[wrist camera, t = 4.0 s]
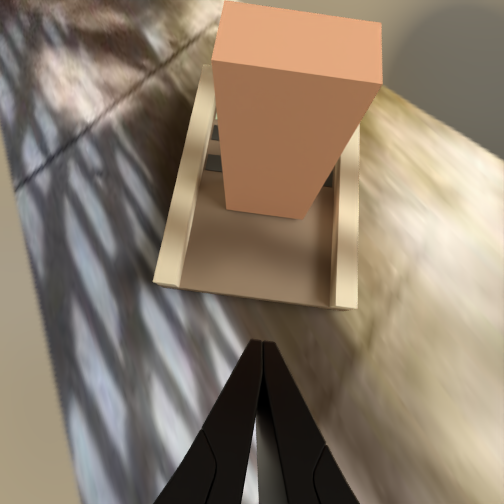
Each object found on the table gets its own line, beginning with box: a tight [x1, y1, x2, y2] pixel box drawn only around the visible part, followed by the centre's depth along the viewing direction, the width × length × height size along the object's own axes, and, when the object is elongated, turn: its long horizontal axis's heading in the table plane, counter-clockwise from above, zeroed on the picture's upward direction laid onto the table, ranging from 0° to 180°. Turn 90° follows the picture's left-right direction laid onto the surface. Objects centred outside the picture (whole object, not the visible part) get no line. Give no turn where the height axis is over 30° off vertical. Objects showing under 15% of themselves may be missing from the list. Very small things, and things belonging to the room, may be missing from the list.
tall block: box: [211, 0, 382, 220], centre depth 15 cm, size 3×6×12 cm, turn 83°
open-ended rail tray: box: [153, 64, 360, 311], centre depth 21 cm, size 20×14×5 cm
